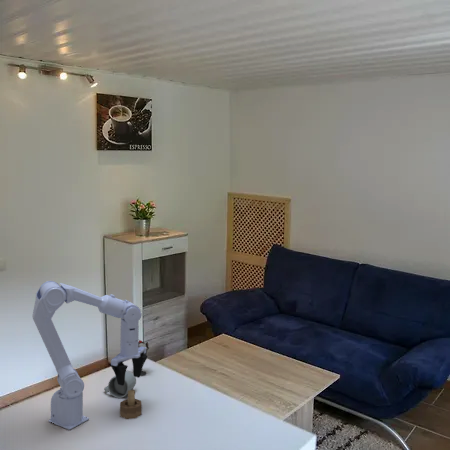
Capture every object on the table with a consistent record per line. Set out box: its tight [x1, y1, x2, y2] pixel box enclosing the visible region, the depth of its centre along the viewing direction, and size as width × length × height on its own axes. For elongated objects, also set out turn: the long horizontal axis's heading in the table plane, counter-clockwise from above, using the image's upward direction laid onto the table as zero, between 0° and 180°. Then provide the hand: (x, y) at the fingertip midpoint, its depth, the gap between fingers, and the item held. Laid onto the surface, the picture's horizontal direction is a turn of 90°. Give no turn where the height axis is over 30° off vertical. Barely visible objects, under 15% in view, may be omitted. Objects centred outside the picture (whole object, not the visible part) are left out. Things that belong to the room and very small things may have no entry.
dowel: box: [127, 389, 136, 406], centre depth 154 cm, size 2×2×8 cm
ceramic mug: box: [103, 370, 137, 399], centre depth 170 cm, size 11×8×8 cm
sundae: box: [138, 338, 150, 377], centre depth 187 cm, size 7×7×15 cm
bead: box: [119, 398, 143, 420], centre depth 155 cm, size 7×7×4 cm
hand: (129, 380), depth 157 cm, fingers open, 7 cm apart
